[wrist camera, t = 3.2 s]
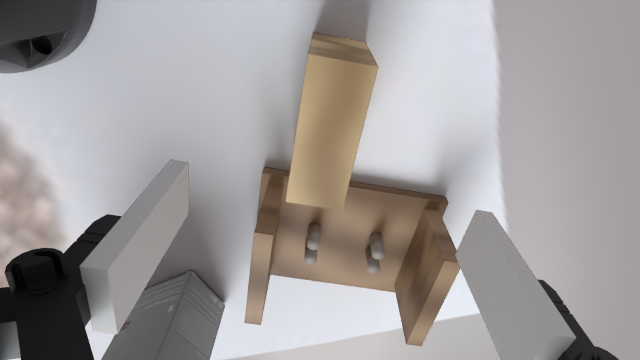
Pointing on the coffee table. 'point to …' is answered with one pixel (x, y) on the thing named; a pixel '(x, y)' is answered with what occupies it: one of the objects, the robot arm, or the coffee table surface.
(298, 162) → the light wooden block
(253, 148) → the coffee table surface
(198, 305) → the skincare box
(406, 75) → the coffee table surface
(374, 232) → the peg frame
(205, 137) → the coffee table surface
